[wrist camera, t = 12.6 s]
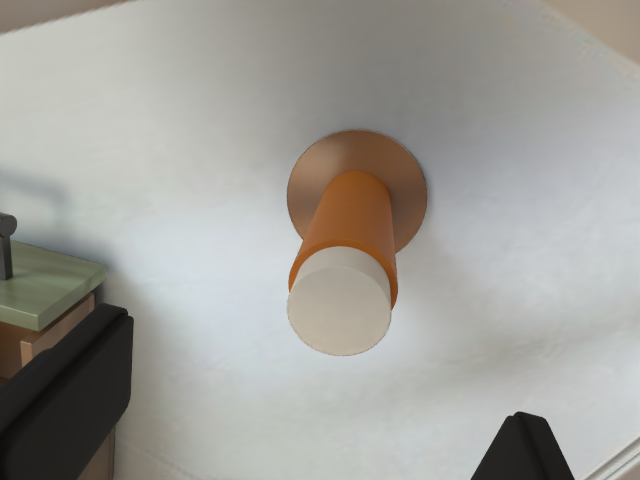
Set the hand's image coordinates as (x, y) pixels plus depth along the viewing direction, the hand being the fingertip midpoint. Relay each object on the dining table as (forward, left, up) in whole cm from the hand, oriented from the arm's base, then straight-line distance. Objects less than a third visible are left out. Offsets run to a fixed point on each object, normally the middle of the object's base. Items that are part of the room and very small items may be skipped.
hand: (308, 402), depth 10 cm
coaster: (+1, 0, -19) cm, 19 cm away
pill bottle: (+1, 0, -18) cm, 18 cm away
